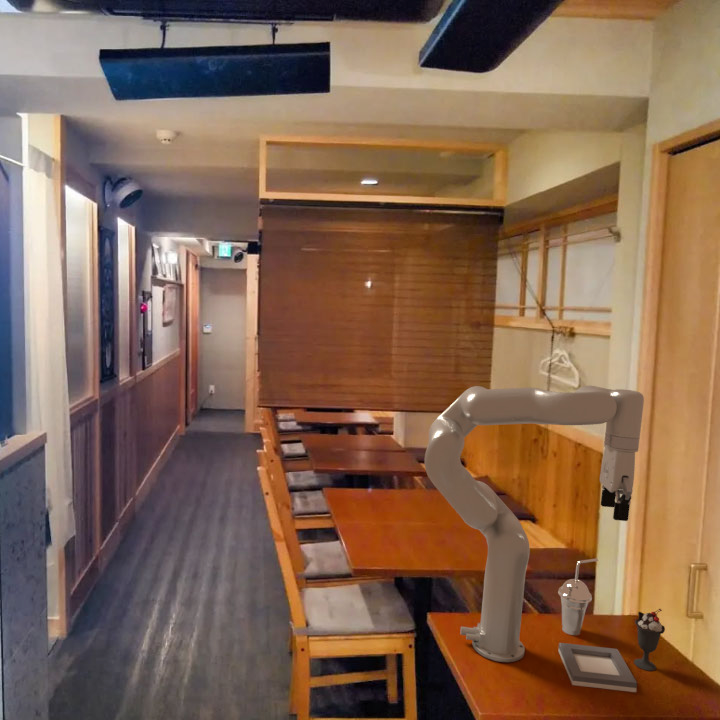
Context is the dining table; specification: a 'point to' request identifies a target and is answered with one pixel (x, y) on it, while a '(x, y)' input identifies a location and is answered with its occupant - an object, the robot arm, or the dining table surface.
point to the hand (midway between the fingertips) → (613, 513)
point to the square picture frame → (596, 667)
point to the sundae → (648, 637)
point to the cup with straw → (574, 602)
